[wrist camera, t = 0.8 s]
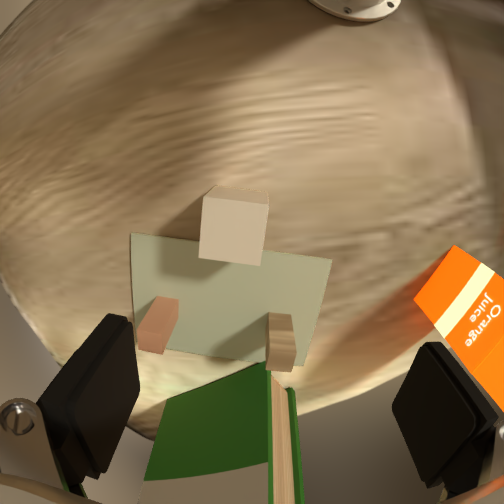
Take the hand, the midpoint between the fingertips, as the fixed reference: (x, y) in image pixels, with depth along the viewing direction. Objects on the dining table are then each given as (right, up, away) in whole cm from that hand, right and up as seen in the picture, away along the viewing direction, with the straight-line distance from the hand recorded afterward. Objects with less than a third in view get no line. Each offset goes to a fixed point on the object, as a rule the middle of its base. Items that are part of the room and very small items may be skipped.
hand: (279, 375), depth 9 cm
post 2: (+2, -4, +26) cm, 26 cm away
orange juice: (+25, -1, +24) cm, 35 cm away
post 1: (-11, -3, +25) cm, 28 cm away
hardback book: (-4, -17, +31) cm, 36 cm away
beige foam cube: (-2, +8, +22) cm, 23 cm away
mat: (-4, -3, +25) cm, 26 cm away
